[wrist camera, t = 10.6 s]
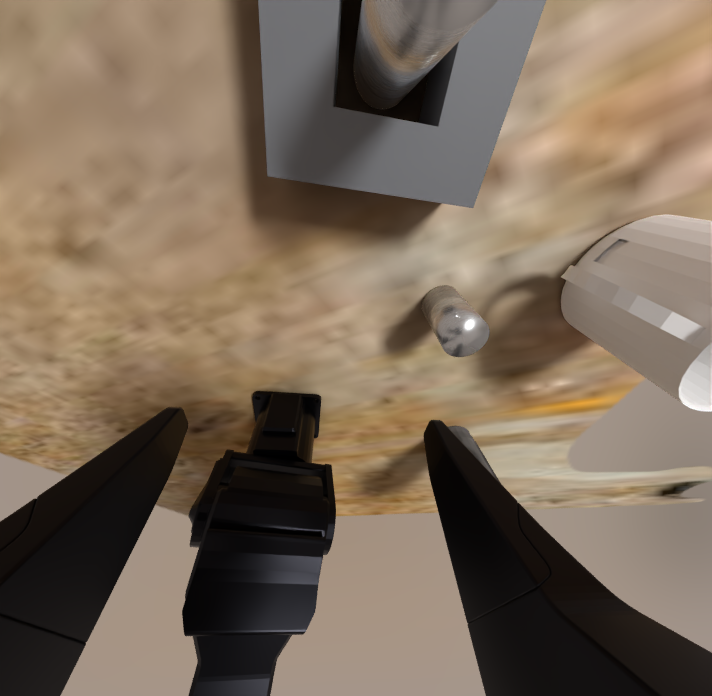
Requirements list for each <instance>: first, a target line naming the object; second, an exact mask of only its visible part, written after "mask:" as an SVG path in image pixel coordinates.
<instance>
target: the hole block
mask: <svg viewBox="0 0 712 696" xmlns="http://www.w3.org/2000/svg"><path fill="white" fill-rule="evenodd" d="M545 2H546V0H498V1H497V2H496V3H495V4H494V5H493V6H492V7H491V9H490V10H489V11H488V12H487V13H486V14H485V15H484V16H483V17H482V18H481V19H480V20H479V21H478V22H477V23H476V24H475V25H474V26H473V27H472V28H471V29H470V30H469V31H468V32H467V33H466V34H465V35H464V36H463V37H462V38H461V39H460V40H459V42H458V43H457V44H456V45H455V46H454V47H453V48H452V49H451V50H450V51H449V52H448V53H447V54H446V55H445V56H444V57H443V58H442V59H441V60H440V61H439V62H438V63H437V64H436V65H435V66H434V67H433V68H432V69H431V70H430V71H429V74H428V79H427V84H426V89H425V94H424V98H423V103H422V108H421V113H420V118H419V122H418V123H416V122H411V121H406V120H401V119H395V118H390V117H385V116H380V115H374V114H369V113H364V112H359V111H354V110H348V109H343V108H338V107H335V106H336V91H337V76H338V61H339V46H340V31H341V15H342V0H258V5H259V24H260V44H261V63H262V82H263V101H264V120H265V139H266V158H267V176H269V177H275V178H282V179H288V180H295V181H301V182H308V183H314V184H321V185H327V186H333V187H340V188H346V189H353V190H359V191H366V192H372V193H379V194H385V195H392V196H398V197H405V198H411V199H417V200H424V201H430V202H437V203H443V204H450V205H456V206H463V207H469V208H473V207H474V204H475V201H476V198H477V196H478V193H479V190H480V187H481V184H482V181H483V178H484V176H485V173H486V170H487V167H488V164H489V161H490V159H491V156H492V153H493V150H494V147H495V144H496V142H497V139H498V136H499V133H500V130H501V127H502V124H503V122H504V119H505V116H506V113H507V110H508V107H509V105H510V102H511V99H512V96H513V93H514V90H515V87H516V85H517V82H518V79H519V76H520V73H521V70H522V68H523V65H524V62H525V59H526V56H527V53H528V51H529V48H530V45H531V42H532V39H533V36H534V33H535V31H536V28H537V25H538V22H539V19H540V16H541V14H542V11H543V8H544V5H545Z"/></svg>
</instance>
